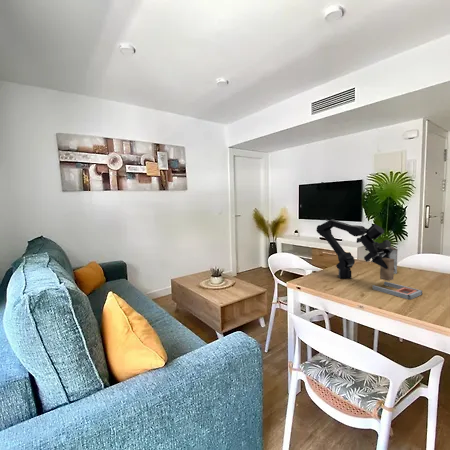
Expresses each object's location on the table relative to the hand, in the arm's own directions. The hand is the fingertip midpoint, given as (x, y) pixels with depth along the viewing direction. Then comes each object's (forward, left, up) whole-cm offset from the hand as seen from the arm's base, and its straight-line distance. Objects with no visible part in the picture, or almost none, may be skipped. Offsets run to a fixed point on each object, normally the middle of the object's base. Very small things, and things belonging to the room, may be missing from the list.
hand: (389, 267), depth 133 cm
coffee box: (+16, +34, -12) cm, 39 cm away
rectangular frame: (+5, -6, -12) cm, 15 cm away
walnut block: (-1, +1, -7) cm, 7 cm away
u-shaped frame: (+2, -3, -12) cm, 13 cm away
